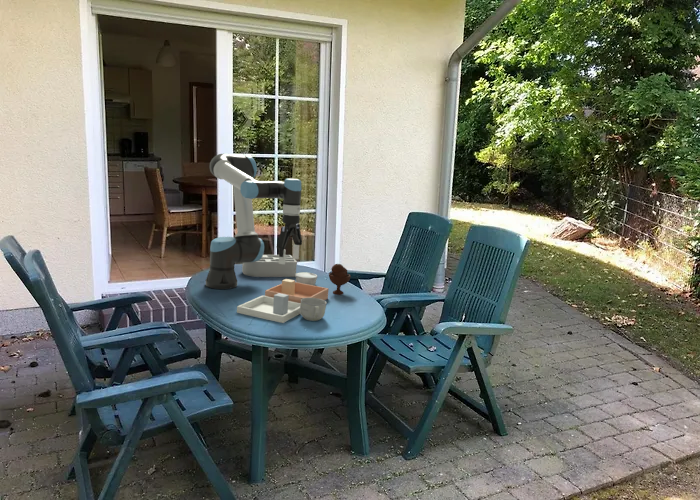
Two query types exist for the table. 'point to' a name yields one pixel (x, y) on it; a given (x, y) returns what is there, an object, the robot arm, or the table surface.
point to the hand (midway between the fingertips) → (288, 261)
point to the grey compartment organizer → (270, 267)
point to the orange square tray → (300, 292)
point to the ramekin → (306, 278)
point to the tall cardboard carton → (288, 287)
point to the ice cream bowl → (339, 277)
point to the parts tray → (268, 309)
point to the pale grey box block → (280, 304)
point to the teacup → (312, 308)
